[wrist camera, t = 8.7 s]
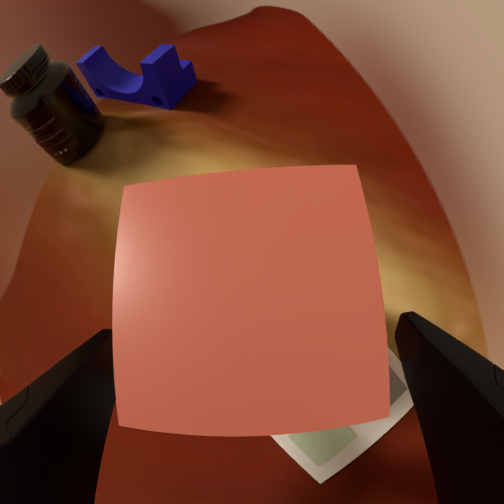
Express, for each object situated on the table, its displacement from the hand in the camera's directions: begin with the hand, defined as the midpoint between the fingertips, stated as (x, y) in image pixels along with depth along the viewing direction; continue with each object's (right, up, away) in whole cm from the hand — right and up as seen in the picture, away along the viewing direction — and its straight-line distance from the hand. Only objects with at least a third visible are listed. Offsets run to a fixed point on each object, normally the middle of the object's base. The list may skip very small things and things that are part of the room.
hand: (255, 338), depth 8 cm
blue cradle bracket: (-12, +20, +17) cm, 29 cm away
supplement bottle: (-18, +14, +16) cm, 28 cm away
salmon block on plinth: (0, -2, +8) cm, 8 cm away
